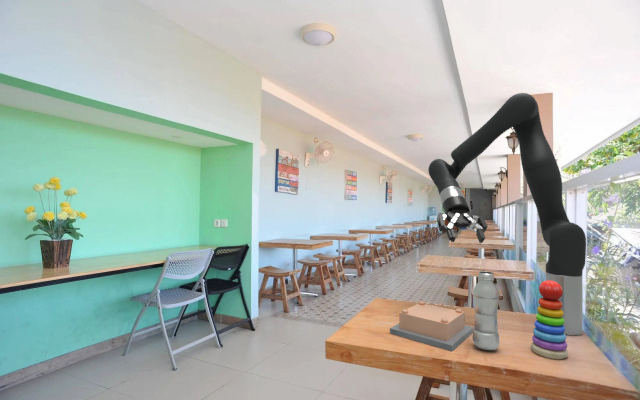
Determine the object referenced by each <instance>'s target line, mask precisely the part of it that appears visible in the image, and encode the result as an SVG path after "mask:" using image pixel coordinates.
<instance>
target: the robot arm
mask: <svg viewBox="0 0 640 400" xmlns="http://www.w3.org/2000/svg"><path fill="white" fill-rule="evenodd" d="M511 128H513V131H514V133H515V135H516V138H517V141H518V145H519V155H520V156H519V157H520V162H521V163H520V164H521V166H522V167H521V168H522V171H523V175H524V177H525V180H526V184H527V186H528V189H529V192H530V195H531V196H532V199H533V202H534V205H535V207H536V210H537V214H538V218H539V223H540V228H541V229H540V230H541V235H542V238H543V241H544V242H545V244H546V245H547V246H548V247H549V249H548V250H549V252H548V254H549V255H548V260H547V262H546V263H545V281H547V280H551V281H555V282H557V283H558V284H559V285H560V286H561V287H562V290H563V294H562V296H561V298H560V299H558V300H559V301H561V303H562V308H560V309H561V310H562V311H563V313H564V314H563V316H562V317H563V318H564V321H565V322H564V324H563V325H564V327H565V332H564V334H565V335H566V336H567V335H570V336H580V335H583V318H584V317H583V310H584V309H583V307H584V306H583V295H584V294H583V293H584V291H583V271H584V268H585V265H586V256H587V254H586V253H587V238H586V233H585V231H584V229H583V228H582V227H581V226H580V225H578V224H576V223H574V222H570V220H569V217H568V215H567V213H566V210H565V206H564V203H563V180H562V175H561V172H560V168H559V165H558V162H557V159H556V157H555V154H554V152H553V150H552V148H551V146H550V144H549V142H548V140H547V137H546V135H545V133H544V129H543V125H542V121H541V116H540V109H539V104H538V101H537V100H536V98H535V97H534V96H533V95H531V94H529V93H526V92H520V93H515V94H513V95H511V96H510V97H509V98H508V99H507V100H506V101H505V102H504V104H502V105H501V107H500V108H499V109H498V110H497V111H496V112H495V114H493V115H492V116H491V118H490V119H489V120H487V121H486V122H485V123H484V124H483V125H482V126H481V127H480V128H479V129H477V130H476V131H475V132H474V133H473V134H471V135H470V136H469V137H468V138H466V139H465V140H464V141H463V142H462V143H460V144H459V145H458V146H457V147H455V148H454V149H453V150H452V152H451V153H450V157H451V159H452V160H453V162H451V164H449V162H447V161H446V160H444V159H441V158H437V159H434V160H432V161H431V162H430V164H429V166H428V174H429V177H430V179H431V180H432V183H434V185H435V187H436V188H437V191H438V193H439V198H440V202H441V206H442V208H443V211H444V214H443V213H442V212H438V214H437V217H436V221H437V227H438V230H439V232H445V233H446V235H447V239H448V240H449V241H450V243H454V242H455V241H456V239H457V238H456V234H455V232H454V227H455V228H464V229H466V228H467V229H468V230H469V231H472V232H474V233H475V235H476V238H477V240H478V243H480V244H483V242H484V241H485V239H486V235H485V233H486V230H487V229H488V228H489V227H488V224H487V222H486V220H485V218H484V216H483V215H482V214H481V213H477V215H474V214H472V213H471V211H470V207H469V204H468V202H467V200H466V197H465V195H464V192H462V189H461V187H460V185H459V182H458V181H457V178H458V177H459V175H460V174H461V173H462V172H464V169H465V168H466V167H467V166H468V164H470V163H472V162H473V161H474V160H475V159H477V158H478V157H479V156H480V155H481V154H483V153H484V152H485V151H486V150H487V149H488V148H489V147H490V146H491V145H492V144H493V143H494V142H495V141H496V140H497V139H498V138H499V137H500V136H501V135H503V134H504V133H506V132H507V131H508V130H510V129H511ZM445 220H446V221H447V222H448V224H447V225H446V223H445ZM470 224H471V225H470Z"/></svg>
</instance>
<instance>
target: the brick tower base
mask: <svg viewBox="0 0 640 400" xmlns="http://www.w3.org/2000/svg"><path fill="white" fill-rule="evenodd" d="M465 313H466V312H465V311H463V309H462V308H455V309H452V308H447V307H446V308H445V307H441V306H438V305H432V304H427V303H426V301H424V300H419V301H418V303H417V304H415V305H413V306H411V307H408V308H403V309H401V311H400V312H399V322H398V323H397V324H395V325H393V326H390V328H389V334H390V335H394V336H398V337H401V338H404V339H408V340H411V341H414V342H418V343H422V344H426V345H430V346H431V347H435V348H439V349H442V350H446V351H448V352H449V351H450V352H454V350H456V349H457V348H458V347H459V346H460V345H461V344H462V343H463V342H464V341H465V340H467V339H468V338H469V337H470V336H471V335H473V330H474V326H470V325H466V324H465V323H466V322H465V320H466V319H465V316H466V315H465ZM466 338H467V339H466Z"/></svg>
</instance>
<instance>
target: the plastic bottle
mask: <svg viewBox="0 0 640 400" xmlns="http://www.w3.org/2000/svg"><path fill="white" fill-rule="evenodd" d="M494 275H495V274H494V272H492V271H486V270H484V271H483V270H481V271H478V278H477V279H478V282H477V283H476V284H475V286H474V288H473V290H472V293H473V294H472V295H473V303H474V312H475V314H474V316H475V317H474V323H473V325H474V326H473V327H474V330H473V333H472V334H471V335H472V342H473V344H474V346H475V347H476V348H478V349H479V350H484V351H490V352H491V351H496V350H497V349H498V348H499V345H500V341H501V340H500V339H501V338H500V334H499V329H498V328H499V327H498V312H499V311H498V308H499V303H500V302H499V301H500V295H501V293H500V291H499V289H498V287H497V285H496V284H495V283H494V281H495V276H494Z"/></svg>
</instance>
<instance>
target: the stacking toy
mask: <svg viewBox="0 0 640 400" xmlns="http://www.w3.org/2000/svg"><path fill="white" fill-rule="evenodd" d="M538 292H539V294H540V296H542V297H541V298H539V299H538V304H539V305H538V307H537V312H538V313H536V316H535V317H536V320H535V321H534V328H533V330H532V332H533V335H532V337H531V340H532V342H531V344H530V348H531V350H532V351H533V352H534V353H536V354H537V355H539V356H542V357H544V358H548V359H553V360H554V359H555V360H561V359H562V360H563V359H566V358H568V356H569V350H568V349H567V348H568V343H567V341H566V340H567V334H564V332H565V327H564V325H563V324H564V322H565V321H564V318H563V317H562V316H563V314H564V313H563V311H562V310H561V309H560V308H562V303H561V301H559V300H558V299H560V298H561V296H562V294H563V290H562V287H561V286H560V285H559V284H558V283H557V282H555V281H551V280H547V281H546V280H544V281H542V282H541V283H540V284H539V287H538Z"/></svg>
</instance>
